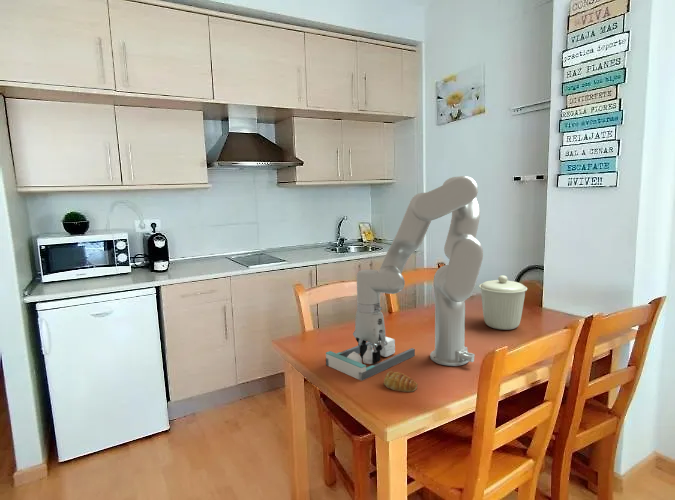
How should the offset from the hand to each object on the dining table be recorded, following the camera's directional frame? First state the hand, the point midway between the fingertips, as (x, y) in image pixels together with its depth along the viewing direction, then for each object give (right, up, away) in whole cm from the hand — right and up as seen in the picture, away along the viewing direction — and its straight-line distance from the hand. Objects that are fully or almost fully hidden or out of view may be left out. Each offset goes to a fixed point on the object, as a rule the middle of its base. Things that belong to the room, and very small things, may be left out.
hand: (370, 359), depth 138 cm
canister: (+56, +5, +31) cm, 64 cm away
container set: (0, -1, 0) cm, 1 cm away
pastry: (+7, -3, -18) cm, 19 cm away
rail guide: (0, -1, +1) cm, 1 cm away
